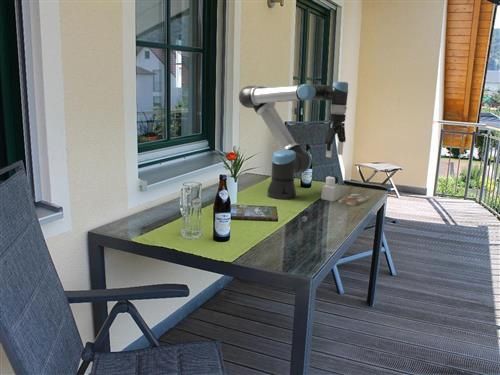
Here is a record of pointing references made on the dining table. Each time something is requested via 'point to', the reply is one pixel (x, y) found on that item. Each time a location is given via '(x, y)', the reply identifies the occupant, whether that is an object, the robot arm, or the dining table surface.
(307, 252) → the dining table surface
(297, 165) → the robot arm
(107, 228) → the dining table surface
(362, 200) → the coaster board
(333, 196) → the medicine bottle
